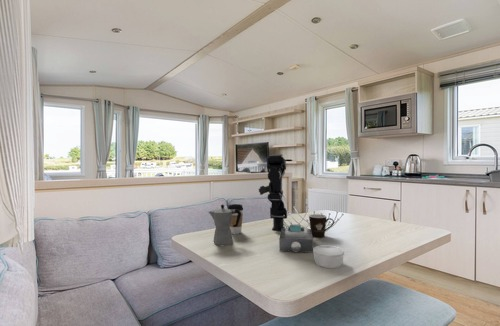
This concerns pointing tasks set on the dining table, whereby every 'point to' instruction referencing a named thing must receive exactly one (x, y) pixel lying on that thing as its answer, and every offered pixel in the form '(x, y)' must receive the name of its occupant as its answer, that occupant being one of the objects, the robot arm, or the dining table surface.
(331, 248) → the ramekin
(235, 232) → the coffee cup
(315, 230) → the coffee mug
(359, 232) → the dining table surface
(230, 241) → the coffeepot
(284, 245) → the grey hollow block
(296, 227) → the metal can
